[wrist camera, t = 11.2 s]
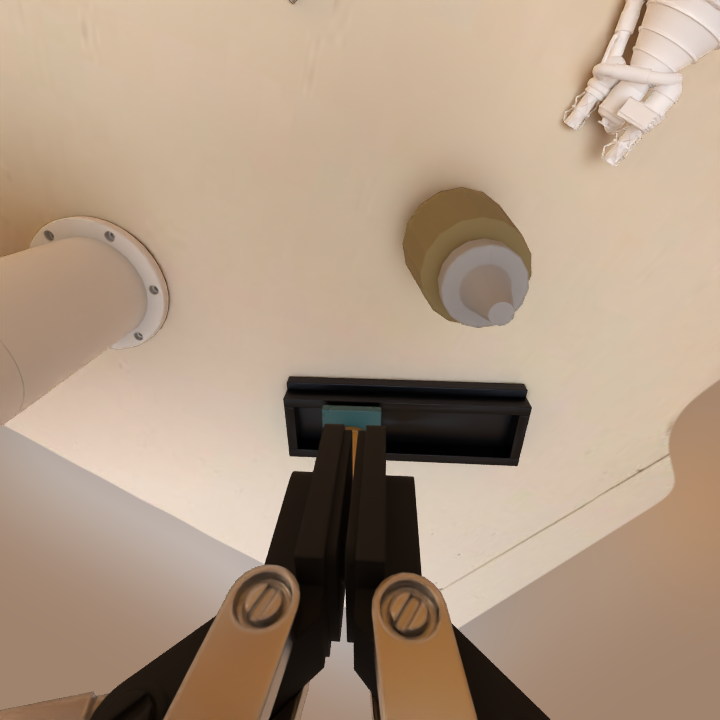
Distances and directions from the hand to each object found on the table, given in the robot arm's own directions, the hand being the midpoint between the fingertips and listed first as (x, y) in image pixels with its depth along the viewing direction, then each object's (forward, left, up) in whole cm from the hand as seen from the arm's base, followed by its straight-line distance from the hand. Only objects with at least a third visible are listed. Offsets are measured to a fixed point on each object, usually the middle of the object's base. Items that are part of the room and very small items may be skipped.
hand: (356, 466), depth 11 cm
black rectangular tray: (+3, -18, -27) cm, 33 cm away
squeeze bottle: (+6, +1, -27) cm, 28 cm away
